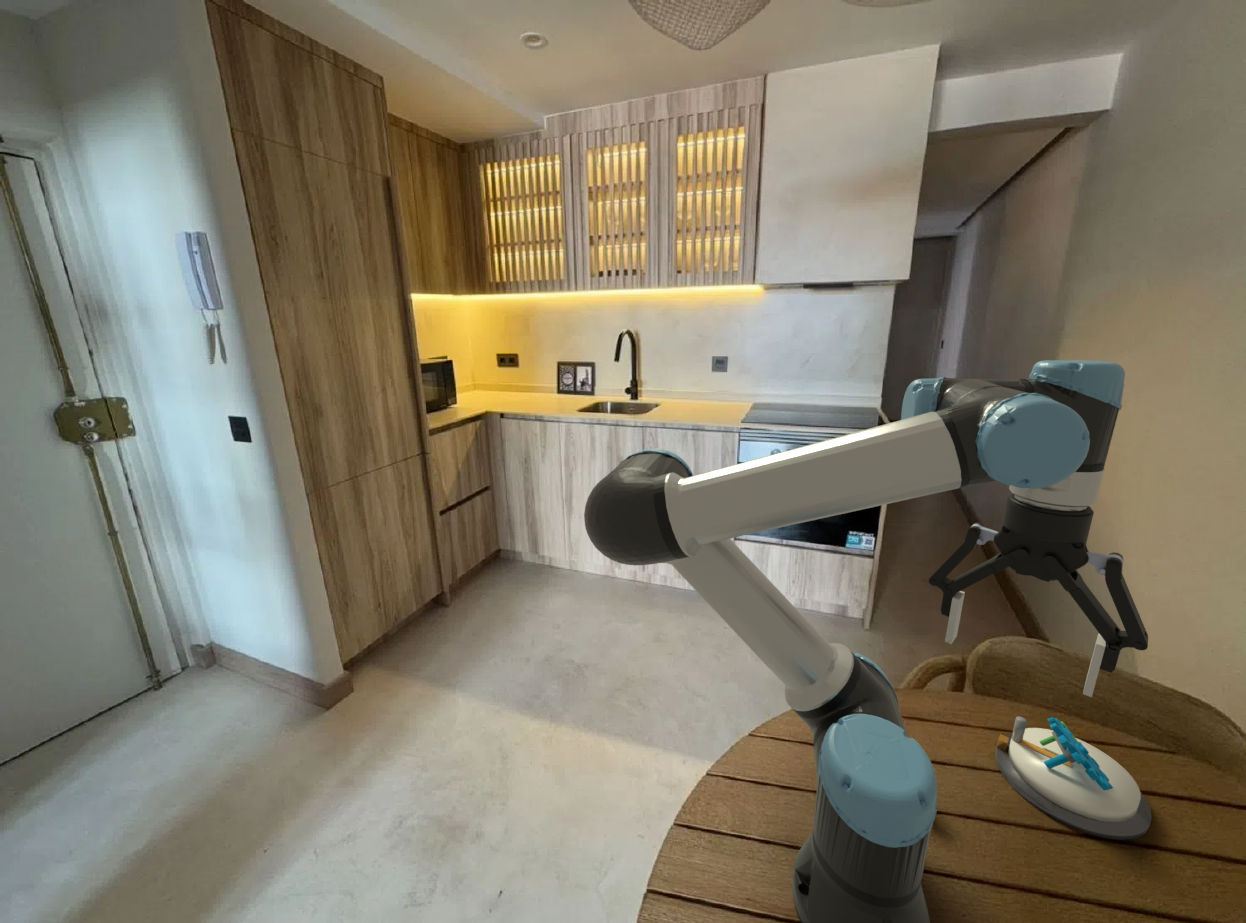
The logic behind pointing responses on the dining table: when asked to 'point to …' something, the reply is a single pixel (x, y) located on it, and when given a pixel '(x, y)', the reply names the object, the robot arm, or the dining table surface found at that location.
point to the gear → (1073, 753)
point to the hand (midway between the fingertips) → (1014, 662)
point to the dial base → (1094, 827)
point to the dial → (1072, 777)
